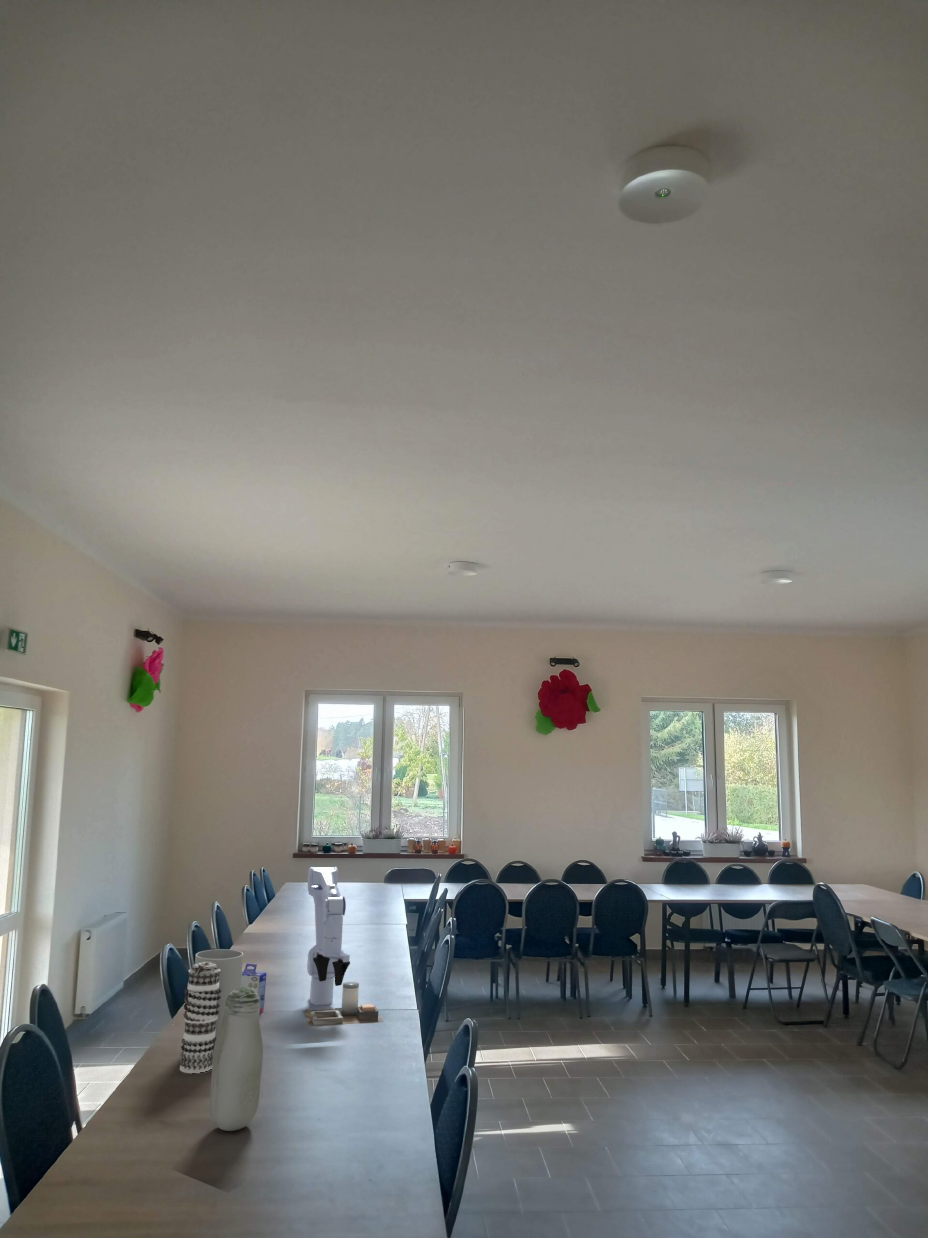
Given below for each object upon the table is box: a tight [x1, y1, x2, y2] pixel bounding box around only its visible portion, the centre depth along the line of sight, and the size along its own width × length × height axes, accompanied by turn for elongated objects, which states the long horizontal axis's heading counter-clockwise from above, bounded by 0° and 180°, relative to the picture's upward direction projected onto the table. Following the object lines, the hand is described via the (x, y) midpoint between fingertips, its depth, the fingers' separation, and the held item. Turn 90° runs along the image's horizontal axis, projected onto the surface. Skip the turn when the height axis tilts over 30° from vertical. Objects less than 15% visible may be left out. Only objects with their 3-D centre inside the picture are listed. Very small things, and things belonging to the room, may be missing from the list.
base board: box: [302, 1005, 384, 1027], centre depth 261 cm, size 16×22×4 cm
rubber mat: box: [334, 1007, 356, 1016], centre depth 265 cm, size 8×8×1 cm
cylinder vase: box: [194, 948, 244, 1043], centre depth 230 cm, size 12×12×25 cm
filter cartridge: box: [341, 981, 360, 1013], centre depth 266 cm, size 5×5×8 cm
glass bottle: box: [209, 987, 264, 1132], centre depth 184 cm, size 10×10×28 cm
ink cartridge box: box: [241, 963, 267, 1014], centre depth 264 cm, size 10×6×14 cm, turn 78°
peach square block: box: [360, 1003, 376, 1011], centre depth 260 cm, size 4×4×3 cm
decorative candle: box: [179, 962, 221, 1075], centre depth 218 cm, size 9×9×25 cm
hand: (330, 983), depth 264 cm, fingers open, 7 cm apart
